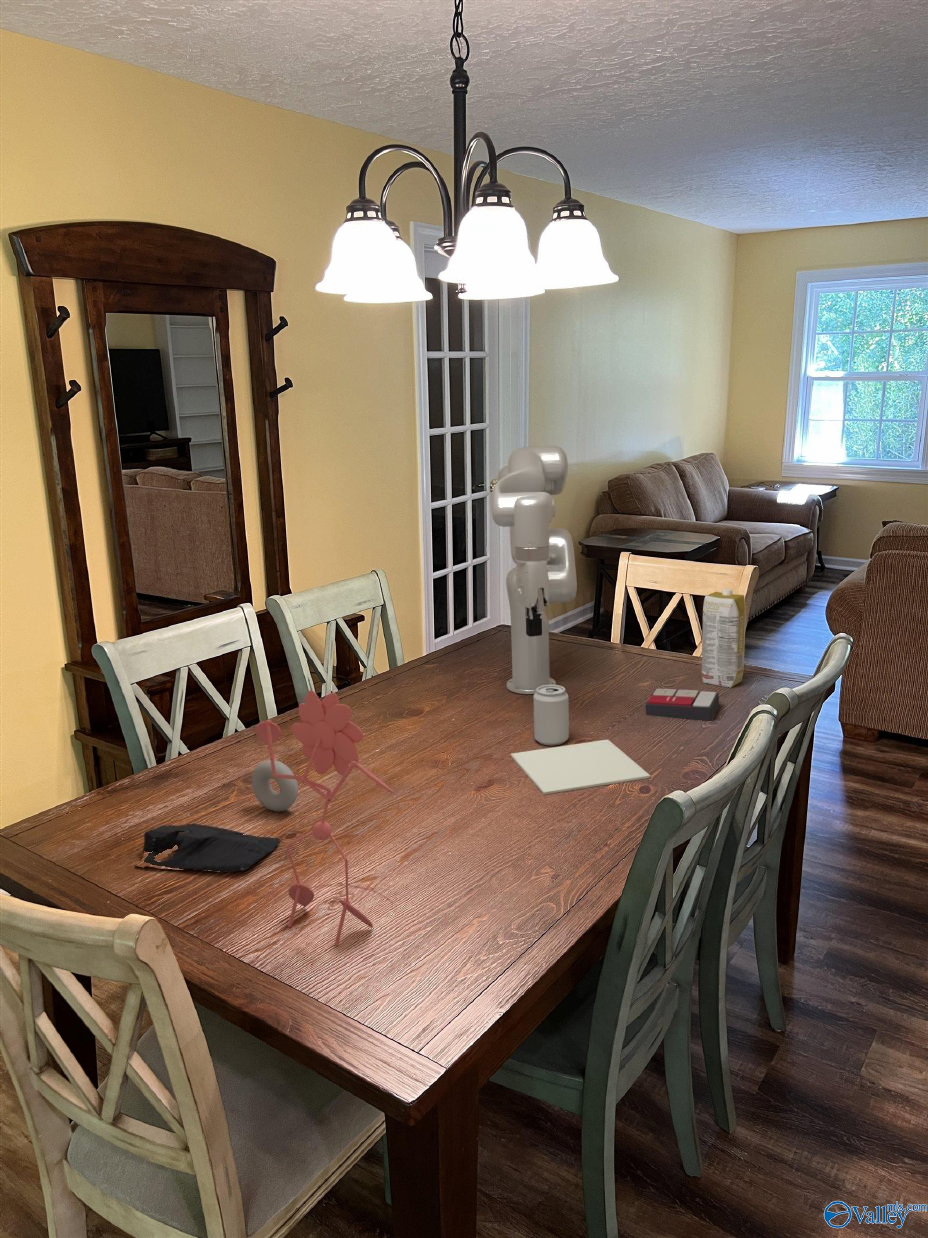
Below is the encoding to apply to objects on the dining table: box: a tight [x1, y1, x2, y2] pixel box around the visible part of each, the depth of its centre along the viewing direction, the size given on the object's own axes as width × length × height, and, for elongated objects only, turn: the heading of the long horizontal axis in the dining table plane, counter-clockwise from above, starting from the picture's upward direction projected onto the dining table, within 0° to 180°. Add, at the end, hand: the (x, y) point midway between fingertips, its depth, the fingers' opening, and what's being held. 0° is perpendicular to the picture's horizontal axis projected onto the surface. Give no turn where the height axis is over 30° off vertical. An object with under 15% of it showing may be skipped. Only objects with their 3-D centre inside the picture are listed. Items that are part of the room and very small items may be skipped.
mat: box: [510, 739, 651, 796], centre depth 185 cm, size 20×22×1 cm
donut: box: [251, 759, 299, 812], centre depth 169 cm, size 10×4×10 cm, turn 63°
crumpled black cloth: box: [142, 823, 281, 873], centre depth 155 cm, size 15×22×5 cm
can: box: [532, 684, 570, 747], centre depth 197 cm, size 8×8×12 cm
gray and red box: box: [645, 688, 720, 722], centre depth 213 cm, size 11×4×15 cm
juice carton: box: [701, 588, 747, 688], centre depth 229 cm, size 9×8×24 cm
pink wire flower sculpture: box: [254, 690, 395, 961], centre depth 132 cm, size 15×26×35 cm, turn 56°
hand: (534, 635), depth 203 cm, fingers closed
